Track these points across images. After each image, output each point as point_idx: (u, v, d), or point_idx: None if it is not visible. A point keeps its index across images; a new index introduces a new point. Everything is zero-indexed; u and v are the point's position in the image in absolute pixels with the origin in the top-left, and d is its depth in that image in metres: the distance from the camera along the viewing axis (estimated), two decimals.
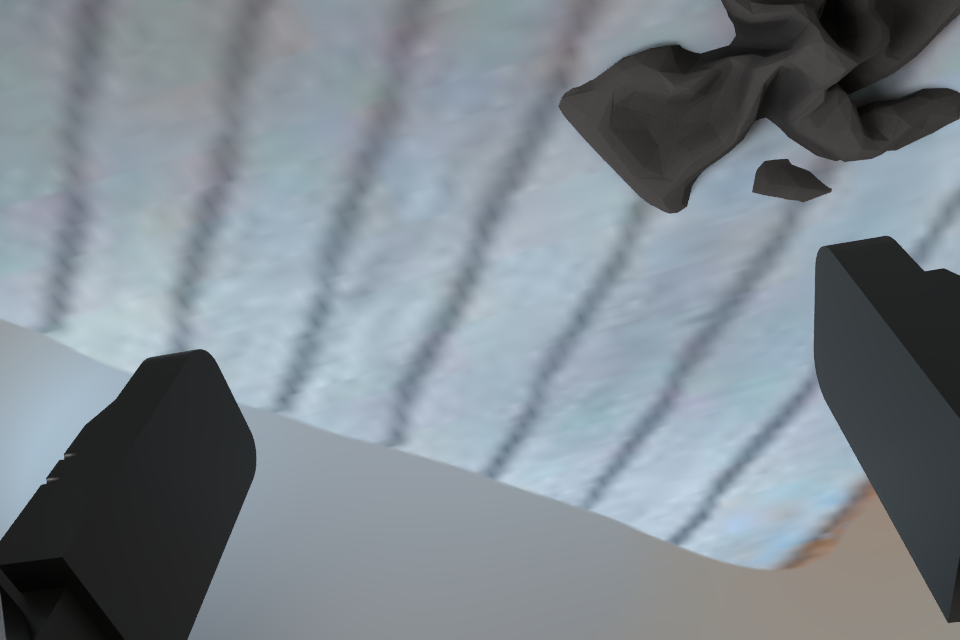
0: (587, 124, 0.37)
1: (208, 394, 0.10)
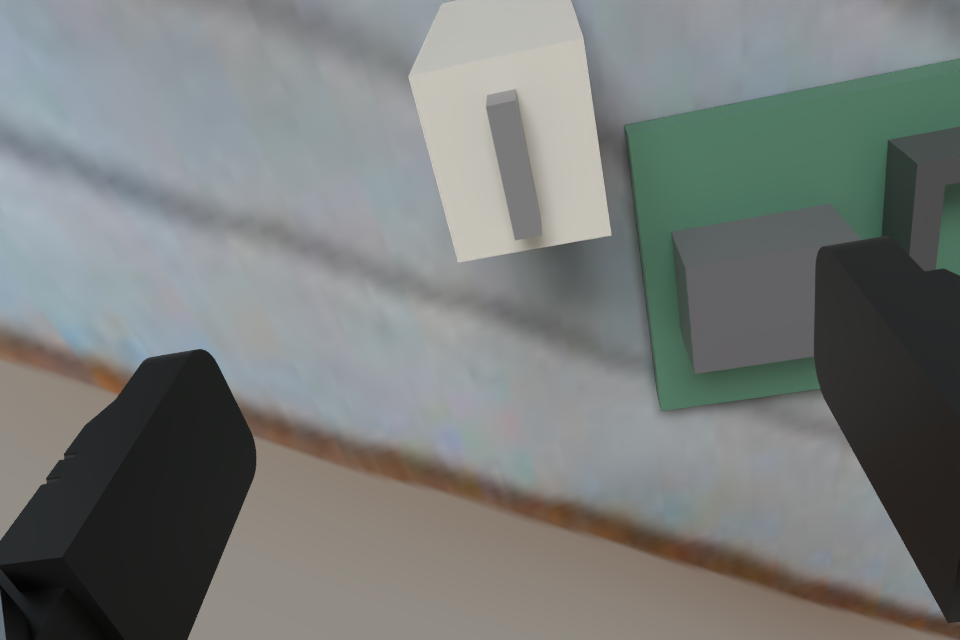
0: None
1: (208, 394, 0.10)
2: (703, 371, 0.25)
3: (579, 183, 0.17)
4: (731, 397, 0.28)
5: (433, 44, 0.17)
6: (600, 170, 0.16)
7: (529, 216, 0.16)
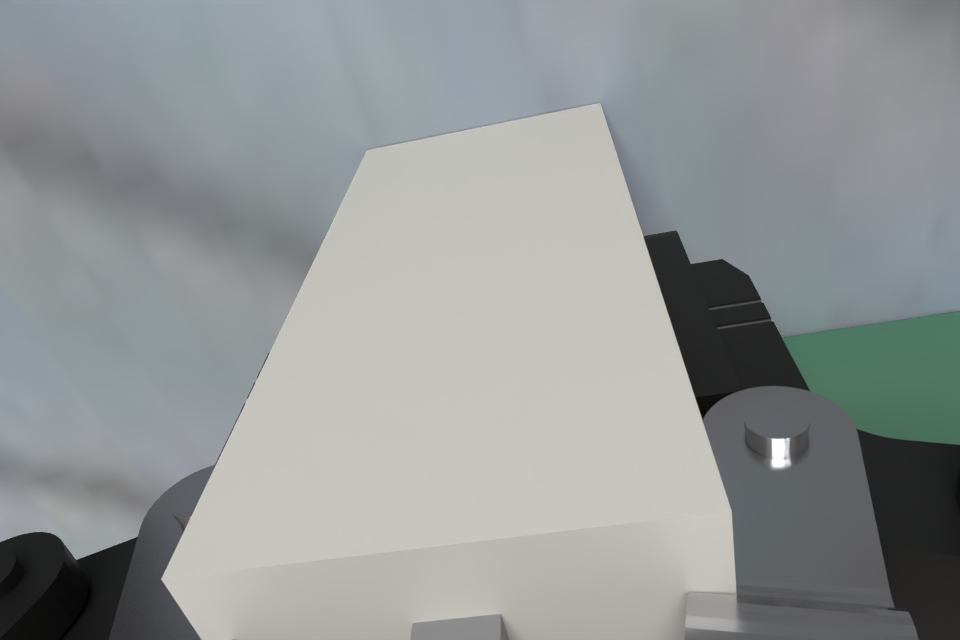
0: None
1: None
2: None
3: None
4: None
5: (297, 348, 0.07)
6: None
7: None
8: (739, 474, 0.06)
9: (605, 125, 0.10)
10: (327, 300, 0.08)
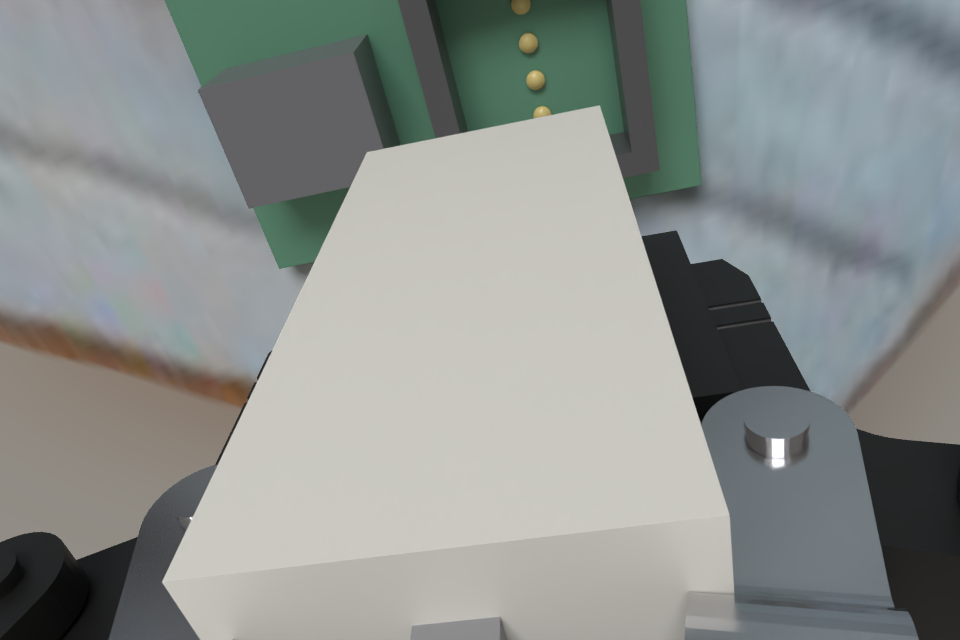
0: None
1: None
2: (256, 205, 0.25)
3: None
4: None
5: (297, 351, 0.07)
6: None
7: None
8: (739, 474, 0.06)
9: (604, 127, 0.10)
10: (327, 303, 0.08)
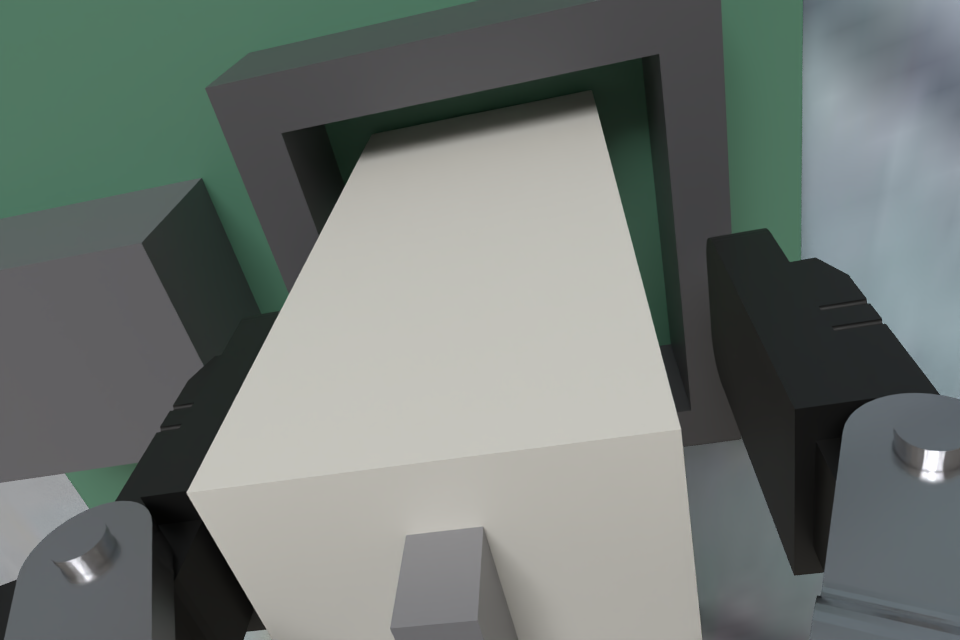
0: None
1: None
2: (1, 480, 0.14)
3: None
4: None
5: (306, 306, 0.08)
6: None
7: None
8: (882, 482, 0.06)
9: (595, 110, 0.11)
10: (333, 265, 0.08)
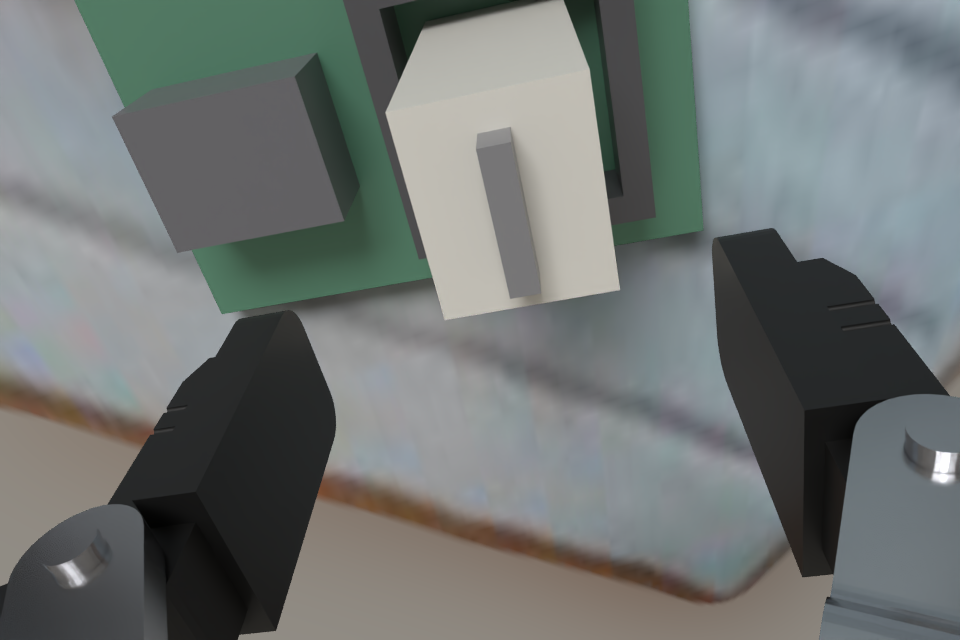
0: None
1: (297, 354, 0.10)
2: (185, 249, 0.21)
3: (584, 232, 0.14)
4: (292, 296, 0.25)
5: (415, 71, 0.15)
6: (608, 218, 0.14)
7: (525, 271, 0.14)
8: (894, 484, 0.05)
9: None
10: (423, 60, 0.16)
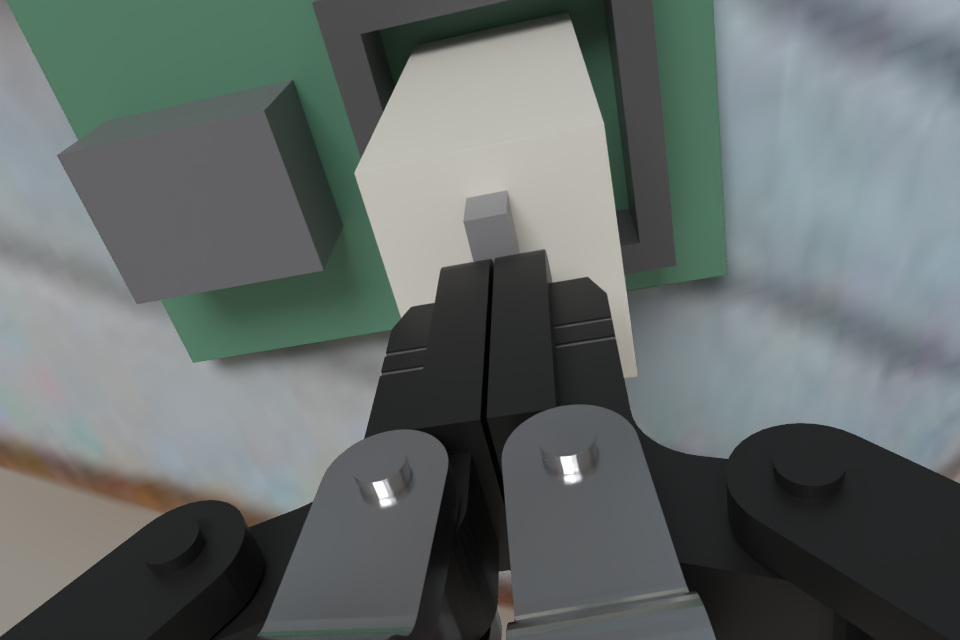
0: None
1: None
2: (145, 300, 0.19)
3: None
4: (270, 344, 0.23)
5: (396, 114, 0.13)
6: (624, 296, 0.12)
7: None
8: (541, 496, 0.06)
9: (569, 20, 0.16)
10: (407, 99, 0.14)
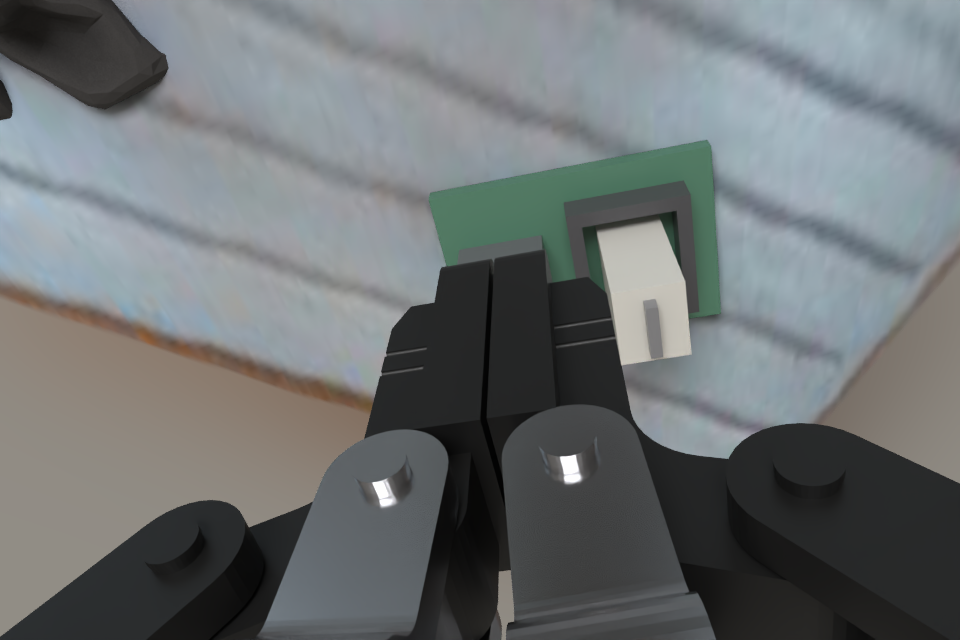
0: None
1: None
2: None
3: (679, 334, 0.38)
4: None
5: (610, 268, 0.39)
6: (688, 329, 0.38)
7: (658, 349, 0.38)
8: (541, 496, 0.06)
9: (660, 220, 0.42)
10: (610, 260, 0.40)
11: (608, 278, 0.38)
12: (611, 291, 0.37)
